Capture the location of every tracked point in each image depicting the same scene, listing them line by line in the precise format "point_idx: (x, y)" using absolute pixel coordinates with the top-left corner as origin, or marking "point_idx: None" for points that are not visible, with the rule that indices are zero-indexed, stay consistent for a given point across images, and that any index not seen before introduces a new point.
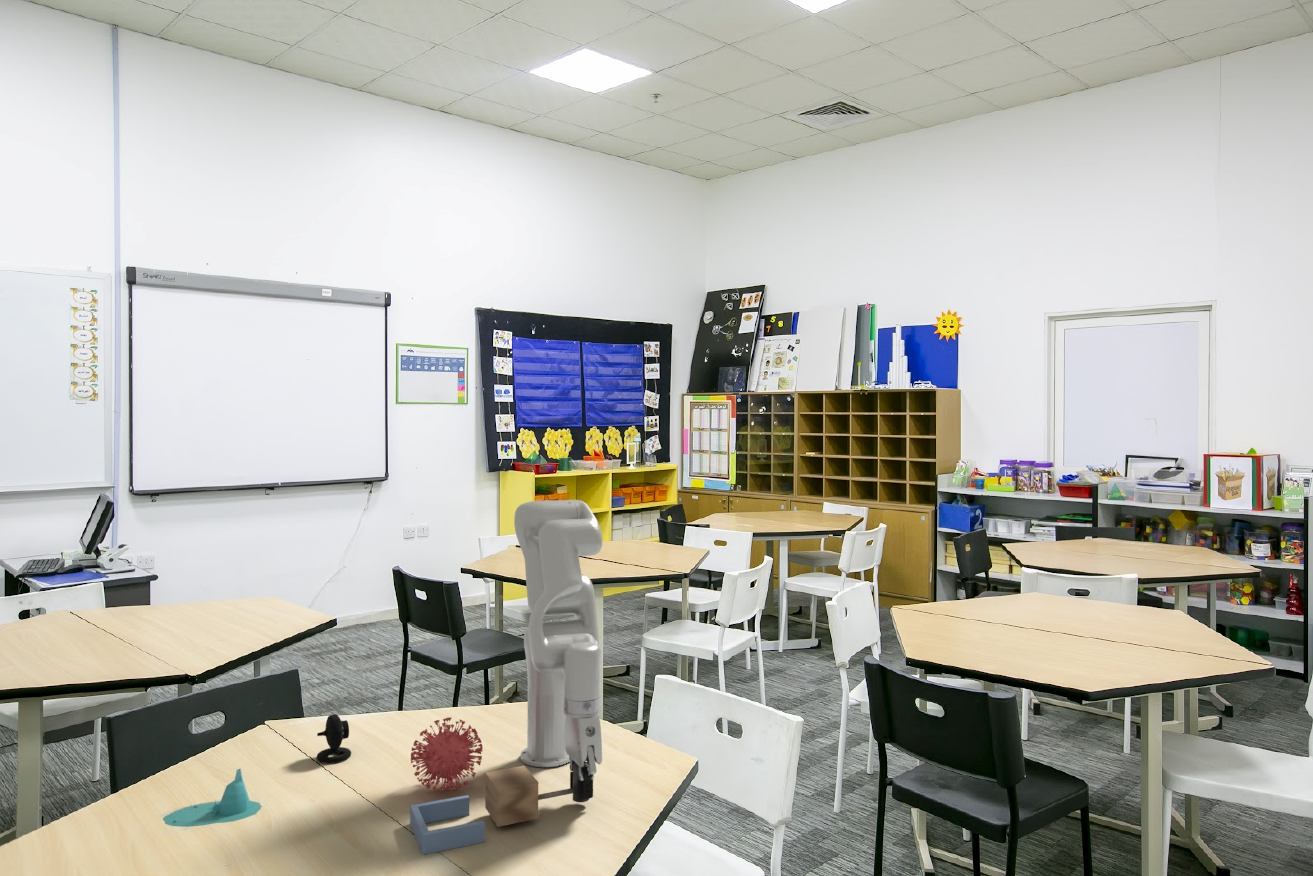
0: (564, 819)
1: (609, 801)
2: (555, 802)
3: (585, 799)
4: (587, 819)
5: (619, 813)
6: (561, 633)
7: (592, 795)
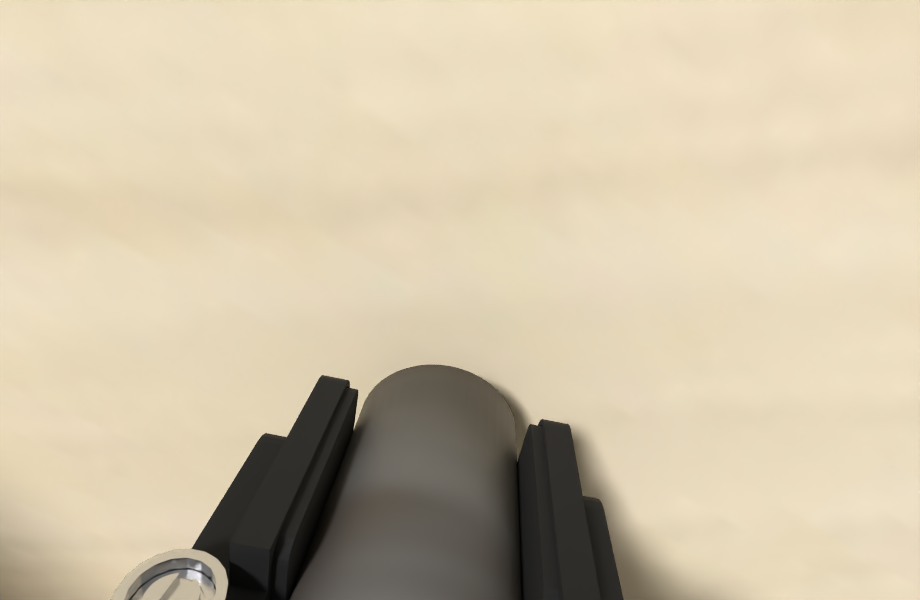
0: None
1: (526, 146)
2: None
3: (516, 450)
4: (681, 475)
5: (817, 223)
6: None
7: (571, 438)
